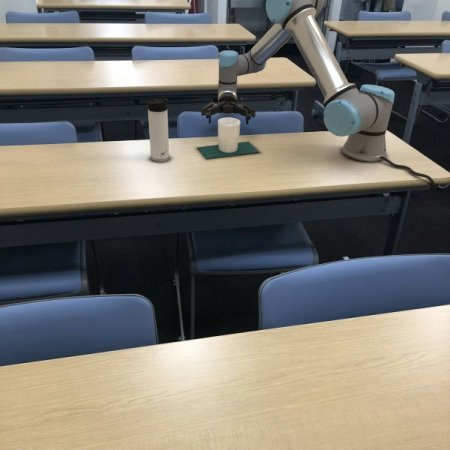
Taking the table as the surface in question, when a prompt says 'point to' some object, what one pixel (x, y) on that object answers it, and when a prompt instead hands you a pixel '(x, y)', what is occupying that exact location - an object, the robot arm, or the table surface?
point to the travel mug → (158, 129)
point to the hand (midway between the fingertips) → (228, 120)
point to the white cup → (228, 134)
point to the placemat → (214, 152)
